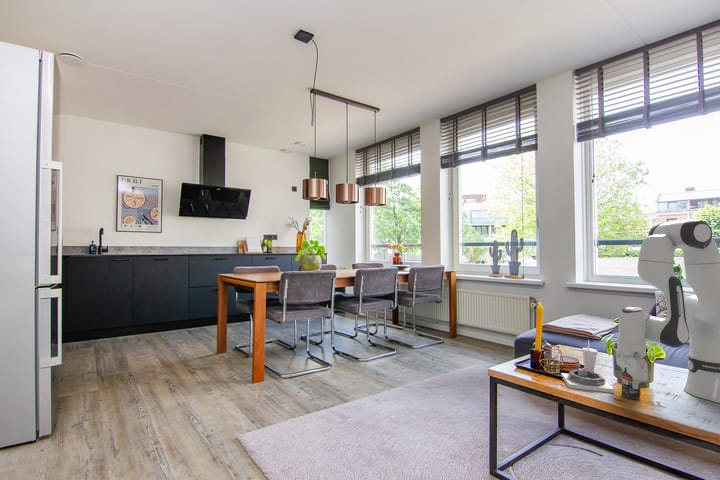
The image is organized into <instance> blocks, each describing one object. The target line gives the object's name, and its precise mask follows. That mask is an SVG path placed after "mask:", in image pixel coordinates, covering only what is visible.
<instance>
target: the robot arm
mask: <svg viewBox="0 0 720 480" xmlns="http://www.w3.org/2000/svg"><path fill="white" fill-rule="evenodd" d="M716 242H717V241H716V240H715V239H714V238H713V231H712V228H711V226H710V225H709V223H707V222H706V221H704V220H700V219H689V220H688V219H683V220H682V219H680V220H678V219H677V220H674V221H669V222H661V223H658V224H655V225H653V226H651V228H650V229H649V232H648V236H646V237H645V238H644V239H643V241H642V243H641V246H640V250H639V253H638V254H639V255H638V261H637V274H638V276H639V277H640V279H641V280H642V281H644V282H645V283H646V284H649V285H650V286H652V287H655V288H656V289H658V290H659V291H660V292H662V294H663V295H664V297H665V305H666V315H667V316H666V318H664V317H659V316H654V315H651V314H649V313H647V312H645V310H644V308H642V307H638V306H626V307H623V308H621V310H620V311H619V315H618V320H617V321H618V325H617V327H618V328H617V330H618V337H617V341H616V342H614V344H613V345H614V348H615V362H616V365H617V366H618V367H619V368H621V369H622V372H624V371H625V367H626V368H627V373H628V374H629V375H631V376H632V379H633V382H632V383H631V386H632V388H634V389H638V386H639V383H640V384H641V382H648V379H649V369H648V368H649V367H648V363H647V361H646V360H645V359H644V357H646V356H647V355H646V354H647V353H646V352H647V349H646V348H647V343H646V342H647V341H646V340H648V341H650V342H653V343H657V344H658V343H659V344H662V345H665V346H667V347H671V348H673V349H674V348H679V347H682V346H684V345H685V344H687V343H688V341H689V355H688V356H687V357H688V358H687V359H688V360H687V369H688V372H687V373H688V375H687V378H686V382H685V385H684V388H683V391H684V392H686V393H688V394H689V395H691V396H695V397H697V398H700V399H704V400H706V401H707V400H708V401H711V402H715V403H717V404H720V251H719V248H718V245H717V243H716ZM677 249H681V250H682V252H683V264H684V265H683V266H684V271H685V279H686V280H685V281H686V283H687V284H688V286H689V287H690V288H691V289H692V290H693V292H694V295H693V294H691V295H686V296H685V295H684V289H683V288H684V286H683V284H682V281H681V279H680V278H679V277H677V276H676V274H675V271H674V259H675V258H674V257H675V254H674V253H675V252H676V250H677ZM647 325H648V326H647ZM622 372H621V373H622Z"/></svg>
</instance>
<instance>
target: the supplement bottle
mask: <svg viewBox="0 0 720 480" xmlns="http://www.w3.org/2000/svg"><path fill="white" fill-rule="evenodd" d="M632 382H633V379H632V376H631V375H629V374H628V373H627V368H626V367H625V371H624V372H621V395H622V396H623V397H624V398H626V399H631V400H640V399H641V382H640V383H639V386H638V389H634V388H632V386H631V383H632Z"/></svg>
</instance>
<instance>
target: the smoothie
mask: <svg viewBox="0 0 720 480" xmlns="http://www.w3.org/2000/svg"><path fill="white" fill-rule="evenodd" d="M581 352H582V356H583V357H582V358H583V366H584V371H590V372H594V371H595V368H596V367H595V366H596V361H597V356H598V353H599V352H598V350H597V349H595V348H591V347H590V340H589V339H588V340H587V347H581Z"/></svg>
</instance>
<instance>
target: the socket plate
mask: <svg viewBox="0 0 720 480" xmlns="http://www.w3.org/2000/svg"><path fill="white" fill-rule="evenodd" d="M568 374H569V373H567V372H566V373H565V372H560V376H561V375H562V377H563V378H562V377H561V378H562V380H563V381H564V383H565V384H566V385H567V387H568V388H569V389H577V390H584V391H595V392H602V393H609V394H610V393H611V394H614V393H615V389H614V388H613V386H611V385H610V383H609V382H607V381H606V380H605V383H604V385H600V386H590V385H583V384H580V383H577V382H574V381H572V380H570V379H568ZM583 378H588V377H583ZM590 379H591V378H590Z"/></svg>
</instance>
